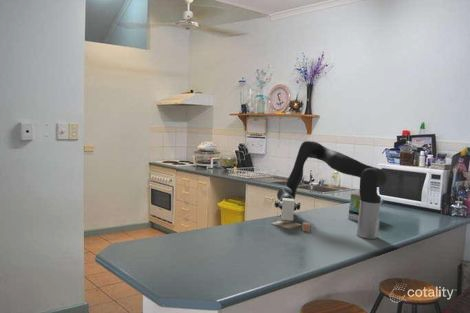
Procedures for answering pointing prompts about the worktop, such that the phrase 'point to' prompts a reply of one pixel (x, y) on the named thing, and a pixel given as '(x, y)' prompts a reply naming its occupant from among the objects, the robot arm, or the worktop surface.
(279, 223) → the cork mat
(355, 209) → the tea box
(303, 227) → the block
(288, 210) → the white rectangular block
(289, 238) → the worktop surface
